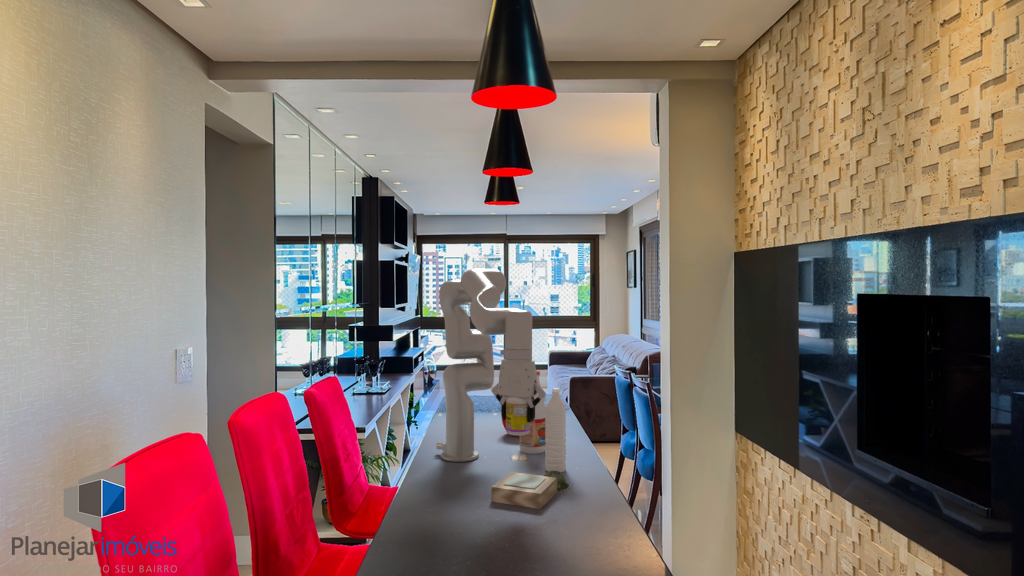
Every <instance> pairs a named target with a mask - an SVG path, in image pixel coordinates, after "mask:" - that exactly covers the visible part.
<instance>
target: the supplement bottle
mask: <svg viewBox="0 0 1024 576" xmlns="http://www.w3.org/2000/svg"><path fill="white" fill-rule="evenodd" d="M528 407H529V404H528V402H527V400H526V398H517V397H507V398H506V430H505V432H506V433H507V434H508V435H509V434H510V435H509V436H511V435H516V436H515V437H517V436H518V437H520V436H519V435H526V434H528V433H529V432H530V422H527V408H528Z"/></svg>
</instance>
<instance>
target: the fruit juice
mask: <svg viewBox="0 0 1024 576" xmlns="http://www.w3.org/2000/svg"><path fill="white" fill-rule="evenodd" d="M536 374H537V384H538V385H539V386H540V387H541V388H542V389H543V387H542V386H541V382H540V376H541V371H540V370H536ZM538 395H539V394H538V393H537V394H536V395H534V398H535V399H536V398H537V397H538ZM546 395H547V394H546ZM546 395H545V397H544V398H543V399H542V400H541V401H540V402H539V403H538V404H537V405H536V406H535V418H534V420H533V421H531V422H530V432H529V433H528V434H526V435H520V436H519V451H520V452H521V453H525V454H528V455H529V454H533V455H537V454H542V453H544V452H545V450H546V449H545V444H546V443H545V438H546V437H545V430H546V429H545V427H546V426H545V422H546V421H545V417H546V416H545V414H546V413H545V406H546V400H547V397H546Z"/></svg>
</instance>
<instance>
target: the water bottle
mask: <svg viewBox="0 0 1024 576" xmlns="http://www.w3.org/2000/svg"><path fill="white" fill-rule="evenodd" d="M560 392H561V389H560V388H558V387H553V388H551V396H550V398H549V399H548V400H547V402H546V403H545V413H546V414H545V416H546V417H545V421H546V422H545V426H546V427H545V429H546V430H545V437H546V438H545V443H546V444H545V449H546V450H545V456H544V459H545V462H544V469H545V471H547V472H549V471H558V472H560V473H561V474H562V473H563V472H566V469H567V465H566V461H567V460H566V458H567V457H566V455H567V453H566V451H567V448H566V445H567V444H566V442H567V439H566V436H567V432H566V431H567V428H566V427H567V422H566V421H567V419H566V418H567V417H566V414H567V408H566V404H565V402H564V400H563V399H562V397H561V394H560Z"/></svg>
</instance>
